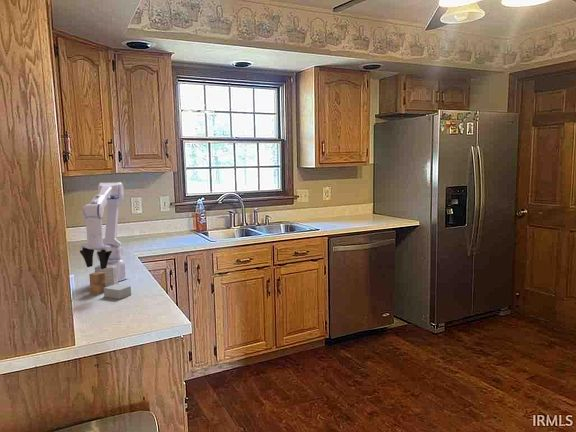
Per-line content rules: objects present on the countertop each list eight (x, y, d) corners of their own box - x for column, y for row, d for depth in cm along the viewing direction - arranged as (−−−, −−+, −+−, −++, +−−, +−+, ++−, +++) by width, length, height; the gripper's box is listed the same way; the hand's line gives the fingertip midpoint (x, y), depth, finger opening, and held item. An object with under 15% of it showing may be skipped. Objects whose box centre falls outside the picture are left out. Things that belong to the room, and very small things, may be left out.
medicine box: (118, 284, 187) (117, 264, 186) (114, 287, 183) (113, 267, 182) (99, 284, 187) (98, 264, 186) (95, 287, 182) (94, 267, 181)
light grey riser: (116, 292, 175) (115, 284, 175) (131, 294, 172) (130, 286, 172) (104, 296, 170) (103, 287, 169) (119, 299, 167) (119, 290, 166)
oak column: (98, 290, 178) (97, 271, 177) (105, 291, 176) (104, 272, 175) (90, 293, 174) (89, 273, 173) (97, 294, 173) (96, 275, 172)
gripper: (72, 234, 171) (75, 268, 173) (100, 236, 166) (102, 271, 167) (87, 231, 178) (89, 264, 179) (114, 234, 172) (116, 267, 174)
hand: (96, 267), depth 174 cm, fingers open, 7 cm apart
